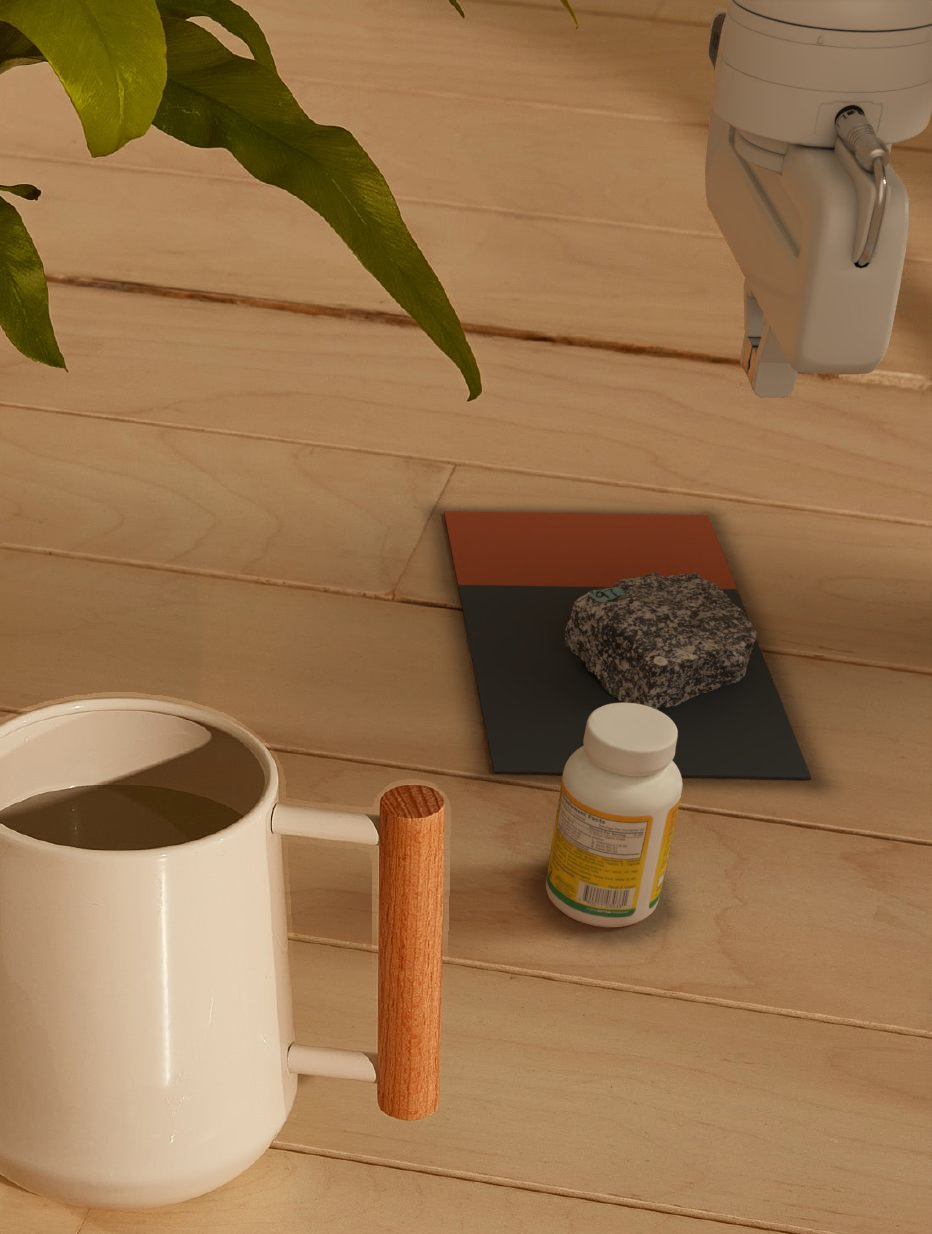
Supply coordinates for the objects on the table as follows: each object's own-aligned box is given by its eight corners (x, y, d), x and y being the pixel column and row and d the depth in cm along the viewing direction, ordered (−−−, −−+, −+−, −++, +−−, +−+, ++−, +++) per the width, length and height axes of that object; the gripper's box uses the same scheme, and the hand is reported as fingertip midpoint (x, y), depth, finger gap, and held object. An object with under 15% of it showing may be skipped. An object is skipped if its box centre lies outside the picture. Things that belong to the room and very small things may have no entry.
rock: (788, 676, 117) (803, 608, 115) (634, 720, 114) (647, 652, 111) (700, 611, 123) (712, 545, 120) (550, 651, 119) (560, 584, 117)
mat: (707, 517, 132) (708, 515, 132) (811, 779, 110) (811, 777, 110) (444, 513, 133) (444, 511, 132) (493, 773, 110) (493, 771, 110)
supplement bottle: (593, 944, 99) (623, 772, 94) (520, 882, 103) (545, 713, 97) (683, 909, 101) (718, 739, 96) (609, 849, 105) (639, 682, 99)
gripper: (976, 160, 81) (894, 491, 90) (845, 3, 97) (786, 295, 106) (805, 159, 81) (740, 489, 90) (704, 2, 98) (656, 294, 106)
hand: (764, 383), depth 98 cm, fingers closed
